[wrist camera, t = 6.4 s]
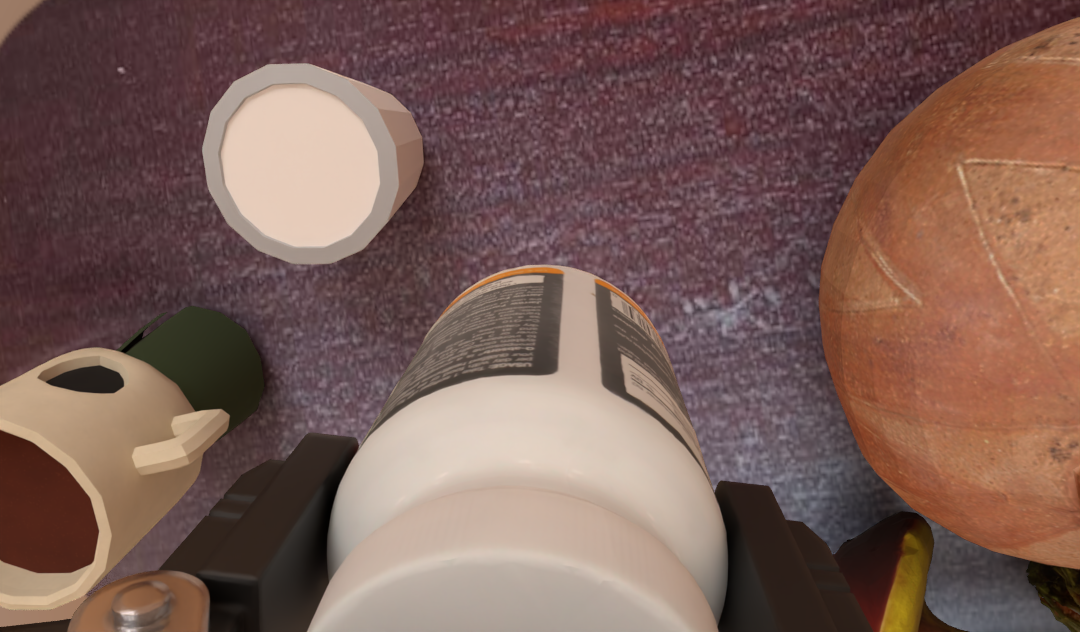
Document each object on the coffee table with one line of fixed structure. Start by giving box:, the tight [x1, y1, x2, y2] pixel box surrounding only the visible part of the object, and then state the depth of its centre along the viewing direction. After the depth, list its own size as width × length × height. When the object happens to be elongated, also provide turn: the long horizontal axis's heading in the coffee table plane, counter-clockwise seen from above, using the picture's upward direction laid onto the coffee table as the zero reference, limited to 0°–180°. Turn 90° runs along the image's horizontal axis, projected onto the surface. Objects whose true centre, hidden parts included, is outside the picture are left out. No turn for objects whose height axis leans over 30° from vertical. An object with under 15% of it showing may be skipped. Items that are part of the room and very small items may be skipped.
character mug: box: [0, 306, 265, 610], centre depth 28 cm, size 11×7×13 cm, turn 104°
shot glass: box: [202, 64, 424, 264], centre depth 28 cm, size 7×7×7 cm
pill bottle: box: [307, 265, 728, 632], centre depth 12 cm, size 6×6×10 cm
